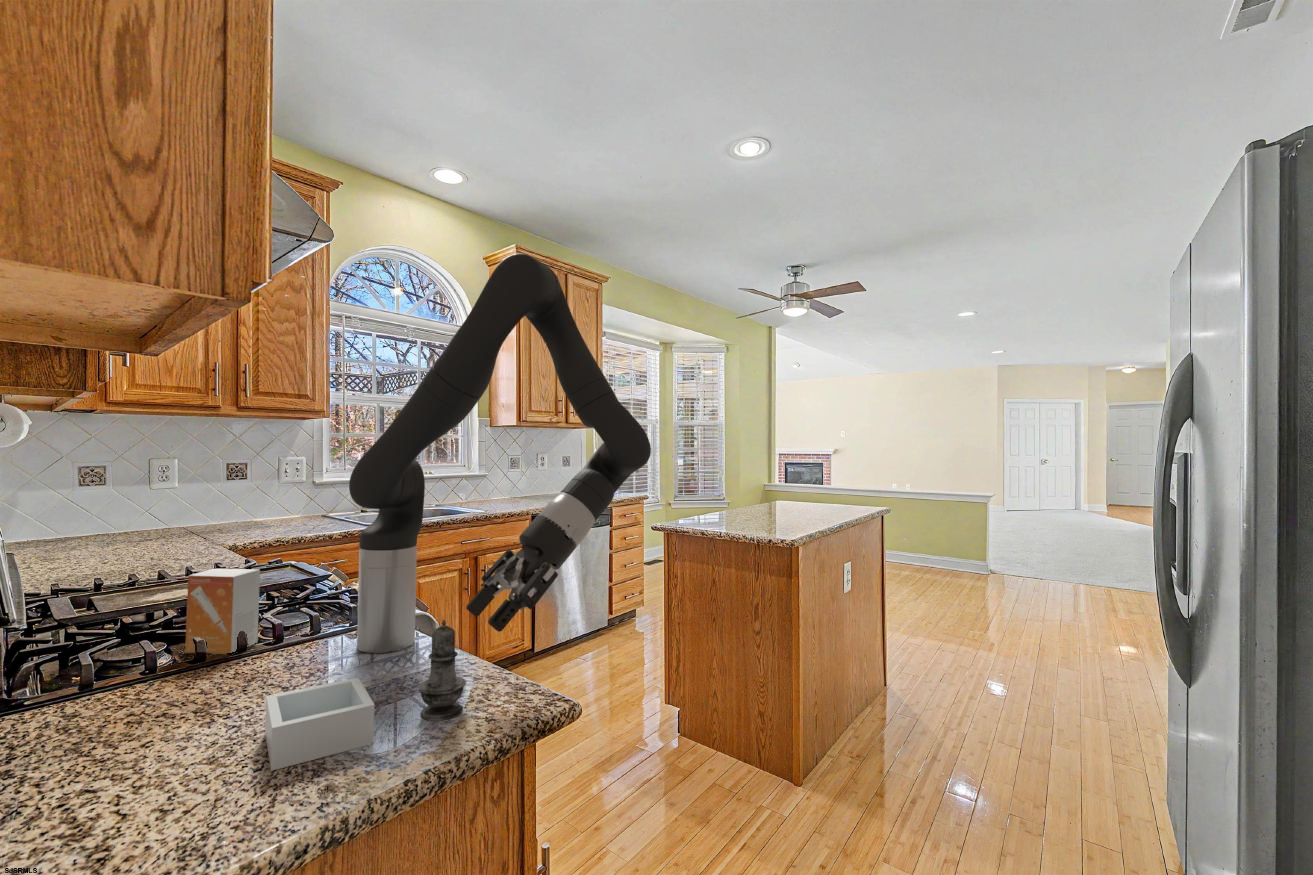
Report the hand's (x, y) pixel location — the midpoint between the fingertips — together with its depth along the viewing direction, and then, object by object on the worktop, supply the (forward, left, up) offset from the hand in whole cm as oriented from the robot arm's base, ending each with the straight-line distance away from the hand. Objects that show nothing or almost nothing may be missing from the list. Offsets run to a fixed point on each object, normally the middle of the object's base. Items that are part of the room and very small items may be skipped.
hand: (481, 619), depth 80 cm
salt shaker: (0, -5, -11) cm, 12 cm away
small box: (-46, -28, -11) cm, 55 cm away
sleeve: (-1, -19, -11) cm, 22 cm away
